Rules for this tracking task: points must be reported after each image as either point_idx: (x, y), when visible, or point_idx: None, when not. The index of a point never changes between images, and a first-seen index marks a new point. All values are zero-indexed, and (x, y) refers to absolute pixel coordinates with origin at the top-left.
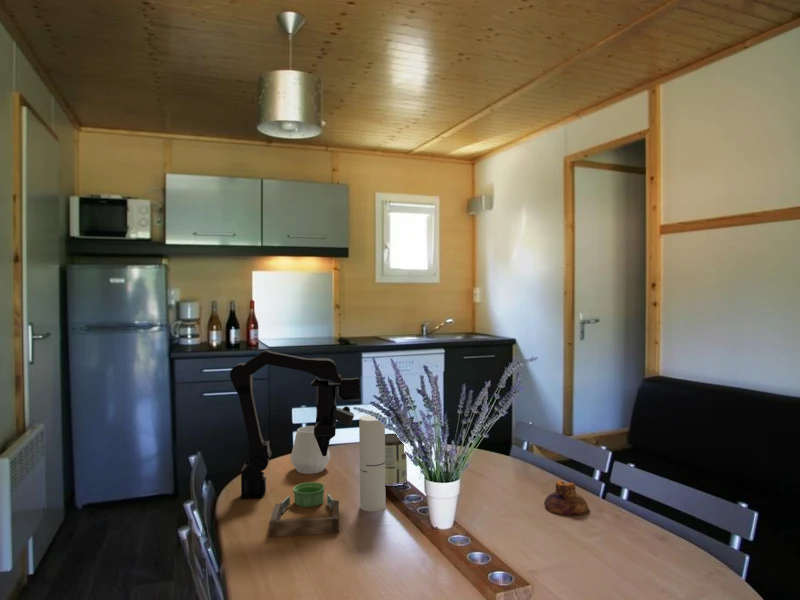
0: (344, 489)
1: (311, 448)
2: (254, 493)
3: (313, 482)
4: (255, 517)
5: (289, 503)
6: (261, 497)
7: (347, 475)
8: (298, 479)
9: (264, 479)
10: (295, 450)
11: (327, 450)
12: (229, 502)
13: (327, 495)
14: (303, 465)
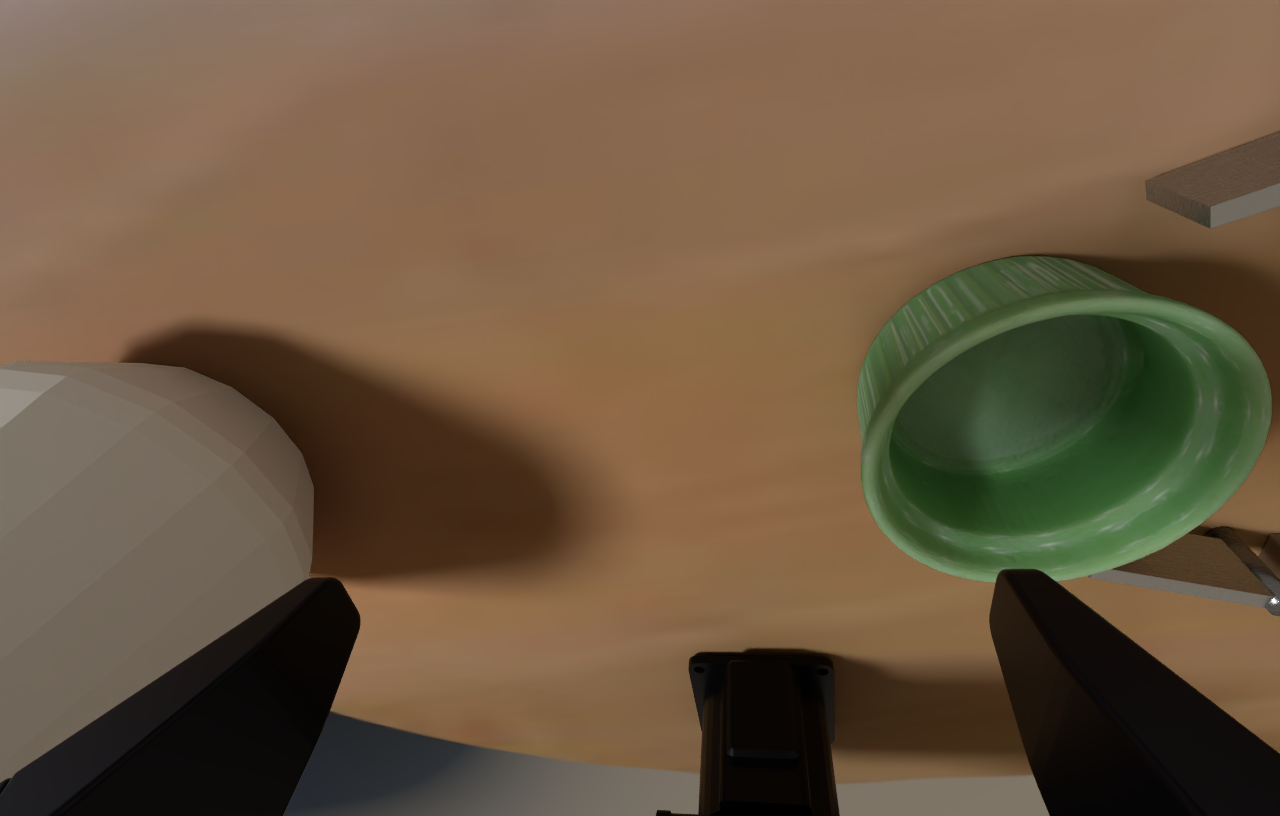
0: (653, 58)
1: (129, 625)
2: (824, 712)
3: (879, 438)
4: (1197, 655)
5: None
6: (831, 662)
7: (198, 101)
8: (444, 510)
9: (787, 757)
10: None
11: (1192, 690)
12: (871, 760)
13: (1230, 217)
14: (307, 548)
